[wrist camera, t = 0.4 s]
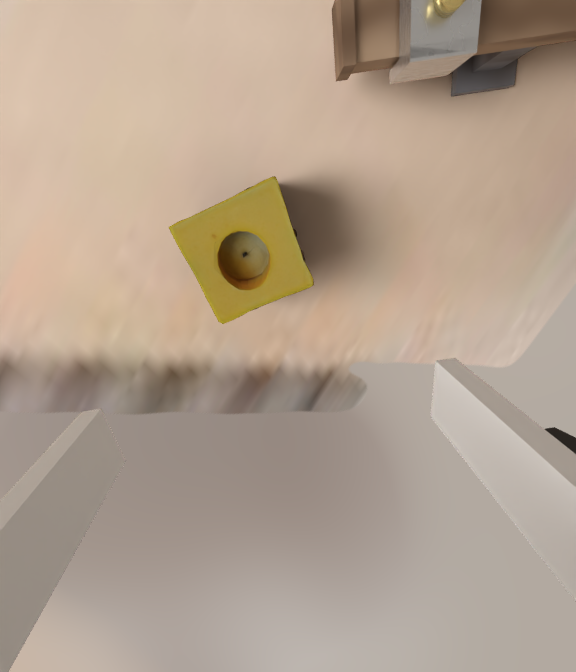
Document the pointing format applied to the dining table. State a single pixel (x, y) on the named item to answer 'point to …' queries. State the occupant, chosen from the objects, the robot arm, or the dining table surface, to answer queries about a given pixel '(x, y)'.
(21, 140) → the dining table surface
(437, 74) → the rider
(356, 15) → the beam
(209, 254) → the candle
